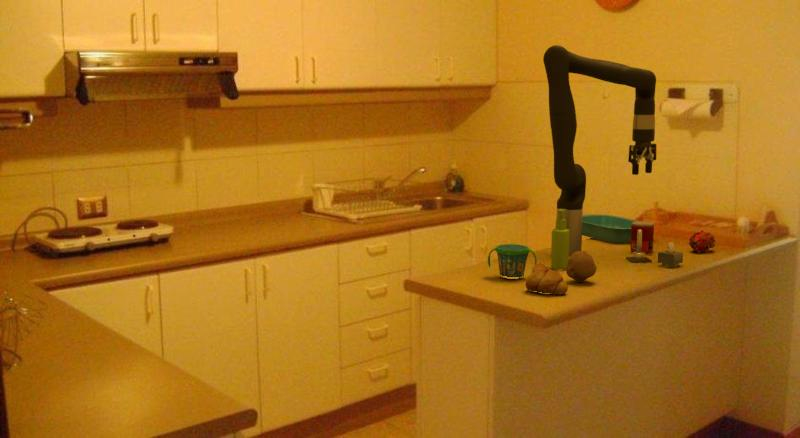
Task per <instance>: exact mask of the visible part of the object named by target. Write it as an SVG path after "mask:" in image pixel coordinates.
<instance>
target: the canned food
mask: <svg viewBox="0 0 800 438" xmlns="http://www.w3.org/2000/svg"><path fill="white" fill-rule="evenodd" d="M638 221H639V222H632V224H631V243H630V249H629V250H630V252H631V253H632V254H633V252H635V251H637V230H642V249H641V252H645V255H651V254H653V250H654V234H655V233H654V231H655V223H653V222H649V221H642V222H641V220H638Z"/></svg>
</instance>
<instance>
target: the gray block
mask: <svg viewBox="0 0 800 438" xmlns="http://www.w3.org/2000/svg"><path fill="white" fill-rule="evenodd" d="M668 251H669V249H665V250H661V251H658V252H657V263H660V264H662V263H665V264H671V265H675V264H678V265H679V264H681V263H684V252H683V251H678V250H673V253H668Z"/></svg>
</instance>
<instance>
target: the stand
mask: <svg viewBox="0 0 800 438" xmlns="http://www.w3.org/2000/svg"><path fill="white" fill-rule="evenodd" d="M641 249H642V230H637V251H635V252H633V253H632V256H625V260H627V261H628V262H630V263H631V264H649V263H650V264H652V263H653V260H652V259H651V258H648V257H647V256H646V254H645V252H641Z"/></svg>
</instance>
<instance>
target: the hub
mask: <svg viewBox="0 0 800 438" xmlns="http://www.w3.org/2000/svg"><path fill="white" fill-rule="evenodd" d="M674 244H675V243H674V242H672V241H671V242H668V250H669V251H668V253H673V251H674V250H675V249H674V246H675V245H674ZM661 264H662V267H664V268H665V267H666V268H678V267H679V264H675V265H671V264H665V263H661Z"/></svg>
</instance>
